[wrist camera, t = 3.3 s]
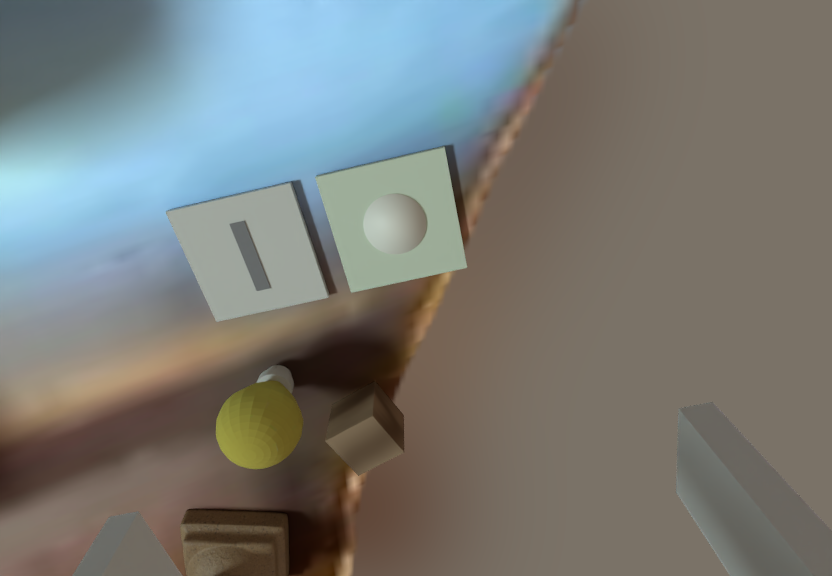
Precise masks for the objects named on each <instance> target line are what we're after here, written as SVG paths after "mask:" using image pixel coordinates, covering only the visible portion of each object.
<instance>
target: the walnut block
mask: <svg viewBox="0 0 832 576" xmlns="http://www.w3.org/2000/svg"><path fill="white" fill-rule="evenodd" d="M403 417H404V415H403V414H402V412H401V411H400V410H399V409H398V408H397V406H396V405H395V404H394V403H393V402H392V401H391V400H390V399H389V397H388V396H387V395H386V394H385V393H384V391H383V390H382V389H381V388H380V387H379V385H378V384H377V383H376V382H375V381H374V382H372V383H371V384H369V385H367V386H365V387H363V388H361V389H360V390H358V391H356V392H354V393H352V394H351V395H349V396H347V397H345V398H343V399H341V400H340V401H338V402H336V403H334V404H332V409H331V414H330V419H329V424H328V430H327V435H326V440H325V441H326V442H327V443H328V444H329V445H330V446H331V448H332V449H333V450H334V451H335V452H336V453H337V454H338V455H339V456H340V457H341V458H342V459H343V460H344V461H345V462H346V463H347V464H348V465H349V466H350V467H351V468H352V469H353V471H354V472H355V473H356V474H357V475H358V476H359V475H361V474H363V473H365V472H367V471H369V470H371V469H373V468H375V467H376V466H378V465H380V464H382V463H384V462H386V461H388V460H390V459H392V458H394V457H396V456H398V455H400V454H402V453H404V418H403Z"/></svg>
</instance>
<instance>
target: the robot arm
mask: <svg viewBox="0 0 832 576" xmlns="http://www.w3.org/2000/svg"><path fill="white" fill-rule="evenodd" d="M678 415H679V416H678V448H677V479H676V493H677V494H678V496H679V497H680V499H681V500H682V502H683V504H684V505H685V507H686V508H687V510H688V511H689V513H690V514H691V516H692V517H693V519H694V520H695V522H696V524H697V525H698V527H699V528H700V530H701V531H702V533H703V534H704V536H705V538H706V539H707V541H708V542H709V544H710V545H711V547H712V548H713V550H714V551H715V553H716V555H717V556H718V558H719V559H720V561H721V562H722V564H723V565H724V567H725V569H726V570H727V572H728V573H729V575H730V576H832V531H831V530H830V529H829V527H828V526H827V525H826V524H825V523H824V522H823V521H822V520H821V519H820V518H819V517H818V516H817V514H815V512H814V511H813V510H812V509H811V508H810V507H809V506H808V505H807V504H806V503H805V501H804V500H803V499H802V498H801V497H800V496H799V495H798V494H797V493H796V492H795V491H794V490H793V489H792V488H791V486H790V485H789V484H788V483H787V482H786V481H785V480H784V479H783V478H782V477H781V476H780V474H779V473H778V472H777V471H776V470H775V469H774V468H773V467H772V466H771V465H770V464H769V463H768V462H767V460H766V459H765V458H764V457H763V456H762V455H761V454H760V453H759V452H758V451H757V450H756V449H755V448H754V446H753V445H752V444H751V443H750V442H749V441H748V440H747V439H746V438H745V437H744V436H743V434H742V433H741V432H740V431H739V430H738V429H737V428H736V427H735V426H734V425H733V424H732V423H731V422H730V421H729V419H728V418H727V417H726V416H725V415H724V414H723V413H722V412H721V411H720V410H719V408H717V406H716V405H715V404H714V403H713V402H710V403H706V404H700V405H694V406H689V407H684V408H679V413H678ZM72 576H182V575H181V573H180V572H179V570H178V569H177V567H176V566H175V564H174V563H173V561H172V560H171V558H170V557H169V555H168V554H167V553H166V551H165V550H164V548H163V547H162V545H161V544H160V542H159V541H158V539H157V538H156V536H155V535H154V533H153V532H152V531H151V529H150V528H149V526H148V525H147V523H146V522H145V520H144V519H143V517H142V516H141V514H140V513H139V511H138V512H133V513H128V514H123V515H117V516H112V517H109V518H108V520H107V521H106V523H105V525H104V526H103V528H102V529H101V531H100V533H99V534H98V536H97V537H96V539H95V540H94V542H93V544H92V545H91V547H90V548H89V550H88V552H87V553H86V555H85V556H84V558H83V560H82V561H81V563H80V564H79V566H78V568H77V569H76V571H75V572H74V574H73V575H72Z"/></svg>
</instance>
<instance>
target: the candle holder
mask: <svg viewBox="0 0 832 576" xmlns="http://www.w3.org/2000/svg"><path fill="white" fill-rule="evenodd" d="M180 530H181V539H182V546H183V554H184V562H185V570H186V575H187V576H288V575H289V525H288V516H287V514H286V513H281V512H267V511H240V510H213V509H189V510H187V511H186V513H185V516H184V518H183V520H182V522H181V526H180Z"/></svg>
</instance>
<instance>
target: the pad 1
mask: <svg viewBox="0 0 832 576" xmlns="http://www.w3.org/2000/svg"><path fill="white" fill-rule="evenodd" d="M166 214H167V216H168V218H169V221H170V223H171V225H172V227H173V229H174V231H175V233H176V236H177V238H178V240H179V242H180V244H181V246H182V249H183V251H184V253H185V255H186V257H187V259H188V261H189V264H190V266H191V268H192V270H193V272H194V274H195V277H196V279H197V281H198V283H199V285H200V287H201V289H202V292H203V294H204V296H205V298H206V300H207V302H208V304H209V307H210V309H211V311H212V313H213V315H214V317H215V320H216V322H218V321H222V320H227V319H232V318H236V317H241V316H246V315H250V314H255V313H260V312H264V311H269V310H273V309H278V308H283V307H287V306H292V305H297V304H301V303H306V302H311V301H315V300H320V299H324V298H329V292H328V289H327V286H326V283H325V280H324V277H323V274H322V271H321V268H320V265H319V262H318V259H317V256H316V253H315V250H314V247H313V244H312V241H311V238H310V235H309V232H308V229H307V226H306V223H305V220H304V217H303V214H302V211H301V208H300V205H299V202H298V199H297V196H296V193H295V190H294V187H293V184H292V181H291V182H287V183H282V184H278V185H274V186H269V187H265V188H261V189H257V190H252V191H248V192H244V193H239V194H235V195H231V196H226V197H222V198H218V199H213V200H209V201H205V202H200V203H196V204H192V205H188V206H183V207H179V208H175V209H170V210H168V211H166Z"/></svg>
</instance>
